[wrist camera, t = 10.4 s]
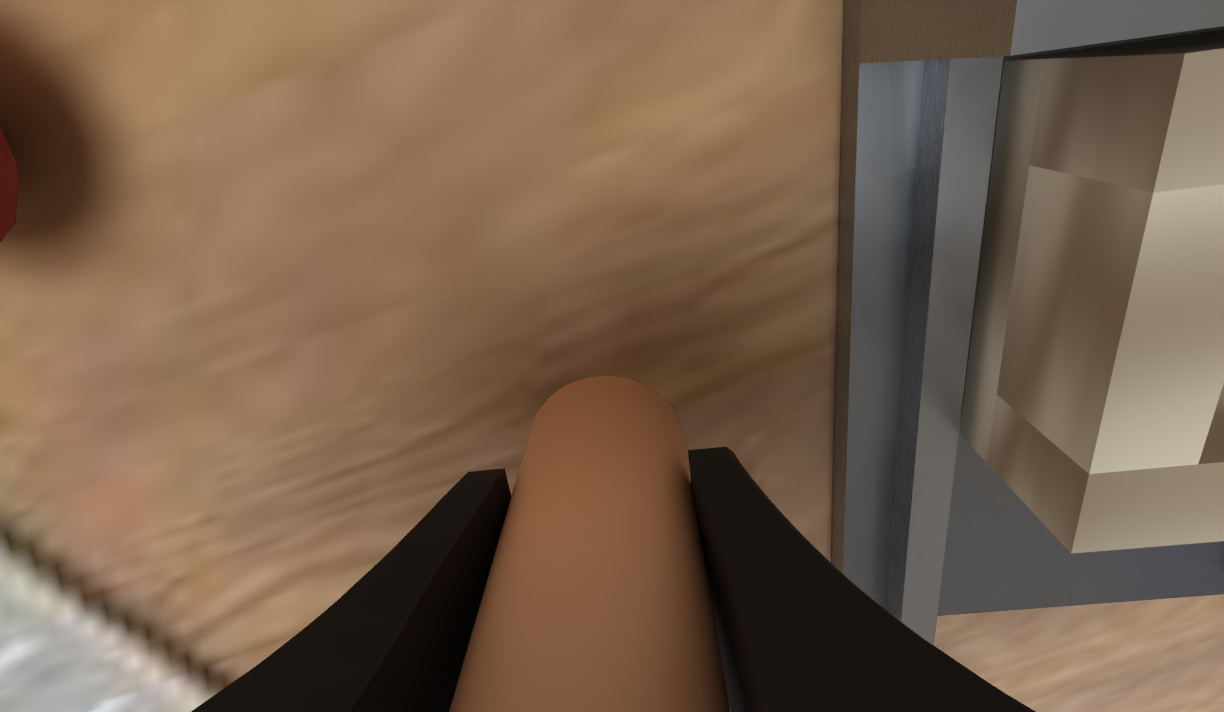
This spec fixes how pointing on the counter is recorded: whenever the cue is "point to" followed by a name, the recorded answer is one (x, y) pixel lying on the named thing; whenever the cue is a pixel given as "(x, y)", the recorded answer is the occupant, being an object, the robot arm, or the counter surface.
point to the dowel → (598, 568)
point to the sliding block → (1106, 294)
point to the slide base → (952, 314)
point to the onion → (7, 188)
